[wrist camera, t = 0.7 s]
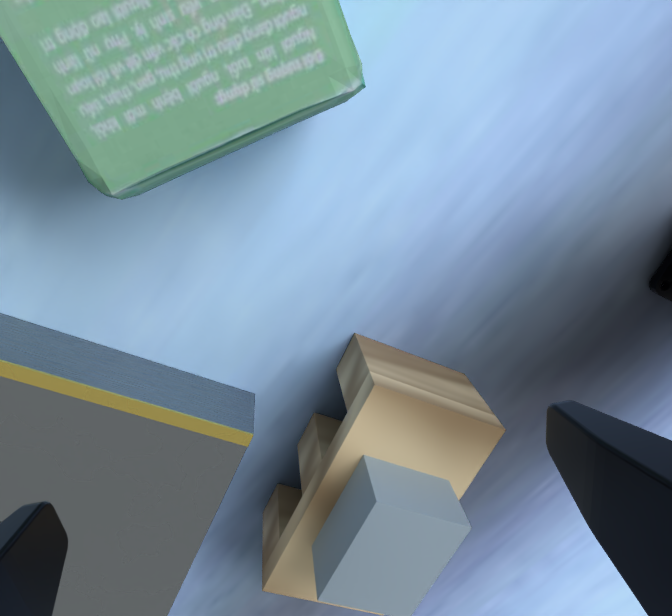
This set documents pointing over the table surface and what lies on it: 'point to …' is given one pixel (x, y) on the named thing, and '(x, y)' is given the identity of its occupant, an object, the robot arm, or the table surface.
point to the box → (177, 77)
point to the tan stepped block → (374, 449)
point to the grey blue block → (387, 538)
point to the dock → (115, 463)
